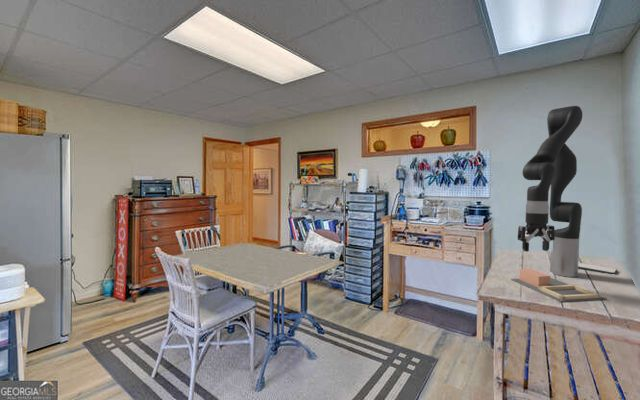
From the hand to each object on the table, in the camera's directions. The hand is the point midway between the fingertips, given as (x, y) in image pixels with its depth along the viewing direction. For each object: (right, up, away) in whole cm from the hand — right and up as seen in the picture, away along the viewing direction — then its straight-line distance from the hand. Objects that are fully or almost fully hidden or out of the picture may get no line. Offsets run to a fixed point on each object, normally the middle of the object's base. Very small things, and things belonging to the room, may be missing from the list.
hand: (535, 250), depth 121 cm
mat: (+5, -15, -4) cm, 16 cm away
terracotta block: (+1, -14, +2) cm, 14 cm away
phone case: (+43, -13, +21) cm, 50 cm away
